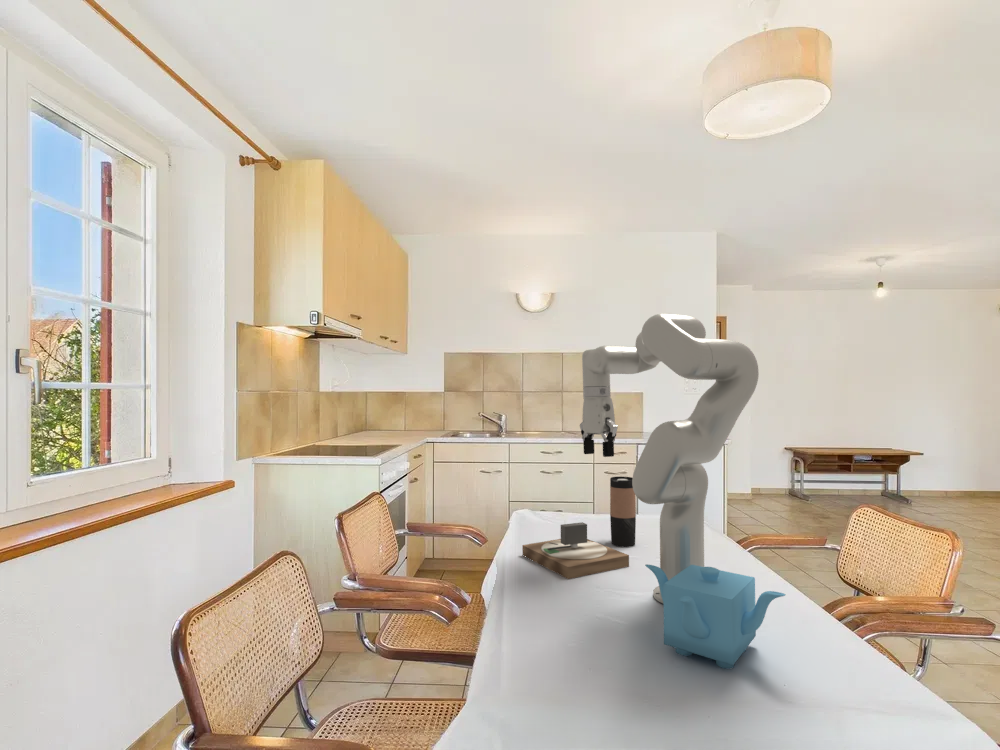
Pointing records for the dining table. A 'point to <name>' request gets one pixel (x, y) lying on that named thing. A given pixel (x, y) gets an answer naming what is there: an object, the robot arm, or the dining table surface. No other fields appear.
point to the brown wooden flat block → (575, 558)
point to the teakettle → (711, 612)
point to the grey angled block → (572, 535)
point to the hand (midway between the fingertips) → (598, 455)
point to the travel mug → (622, 511)
